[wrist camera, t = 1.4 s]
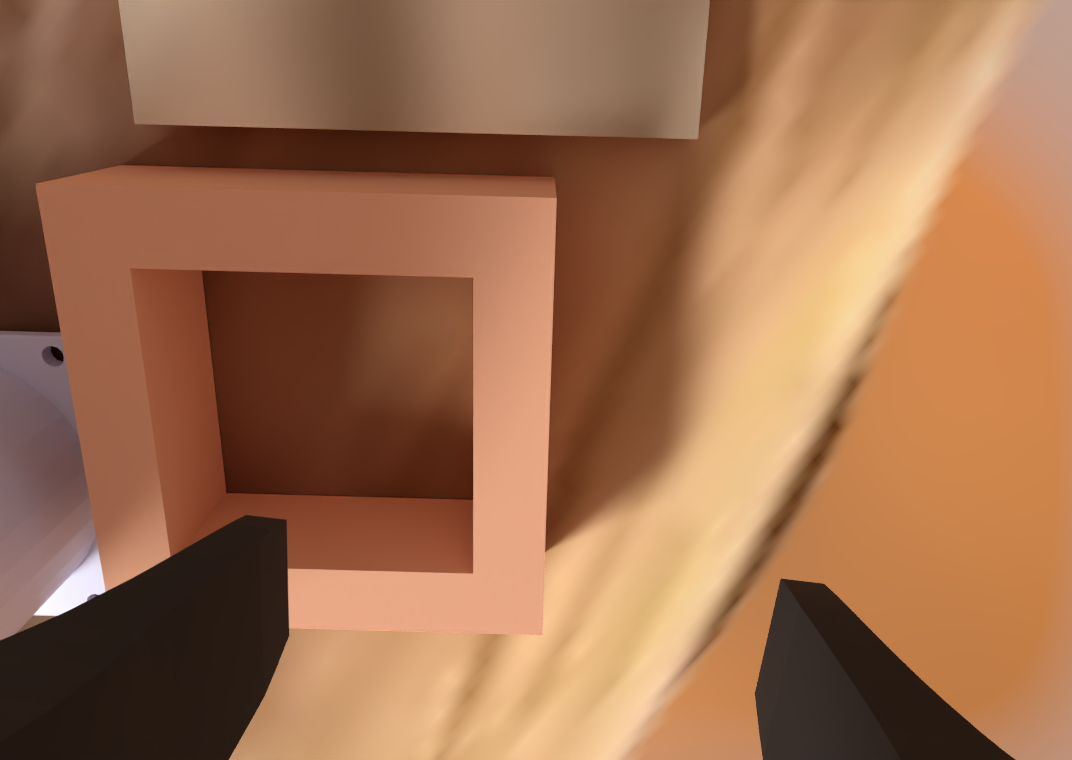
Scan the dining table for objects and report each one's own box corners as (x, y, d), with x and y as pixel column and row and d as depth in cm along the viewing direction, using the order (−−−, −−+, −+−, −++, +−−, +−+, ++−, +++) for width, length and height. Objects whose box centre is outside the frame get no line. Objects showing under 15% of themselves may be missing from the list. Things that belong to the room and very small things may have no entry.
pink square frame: (173, 544, 23) (111, 623, 20) (121, 165, 20) (35, 183, 16) (542, 554, 23) (542, 635, 20) (555, 176, 20) (556, 197, 16)
